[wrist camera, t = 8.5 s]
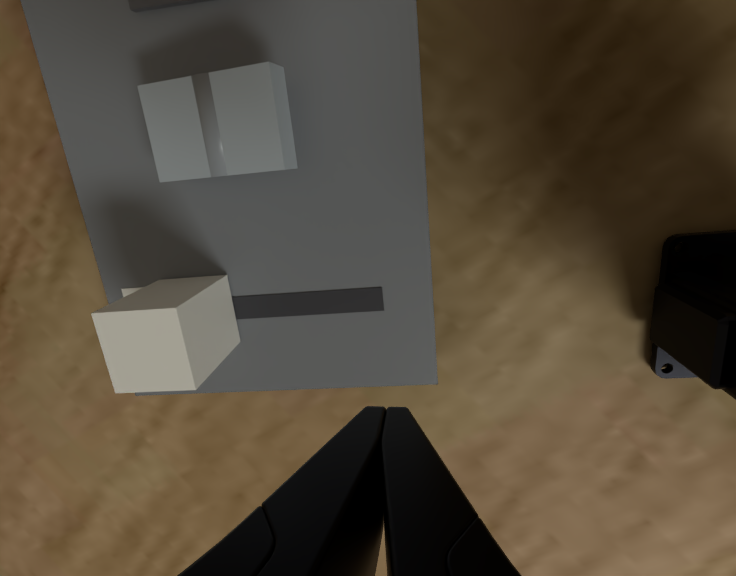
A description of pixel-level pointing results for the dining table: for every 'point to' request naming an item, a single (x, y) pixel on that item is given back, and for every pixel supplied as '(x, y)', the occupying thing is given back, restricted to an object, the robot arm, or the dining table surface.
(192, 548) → the dining table surface
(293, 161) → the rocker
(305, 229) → the switch console
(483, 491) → the dining table surface
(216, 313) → the off-white cube
